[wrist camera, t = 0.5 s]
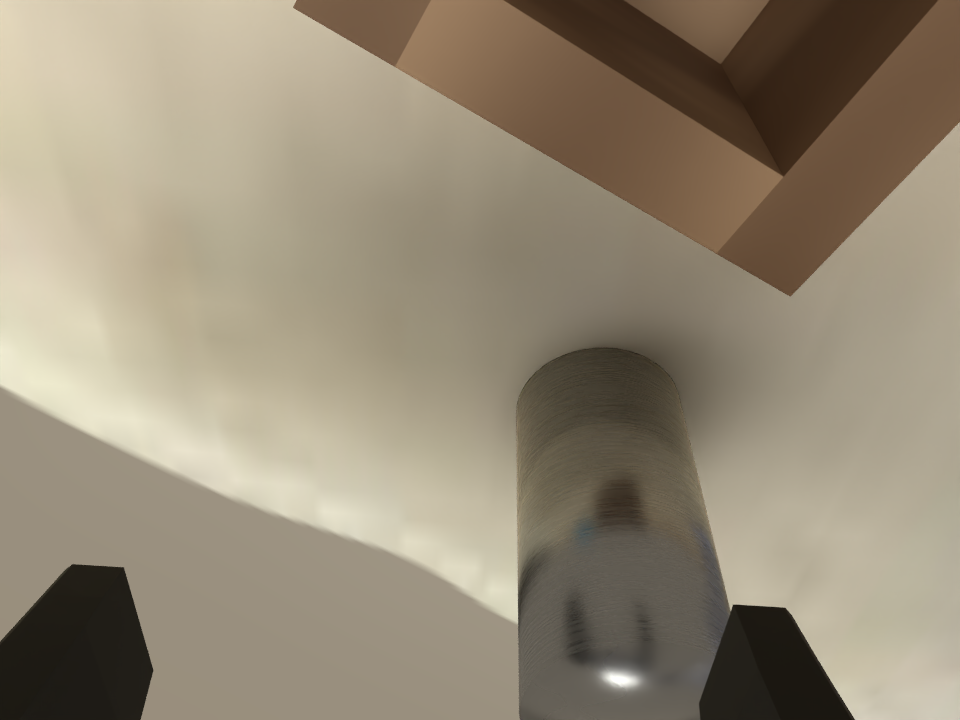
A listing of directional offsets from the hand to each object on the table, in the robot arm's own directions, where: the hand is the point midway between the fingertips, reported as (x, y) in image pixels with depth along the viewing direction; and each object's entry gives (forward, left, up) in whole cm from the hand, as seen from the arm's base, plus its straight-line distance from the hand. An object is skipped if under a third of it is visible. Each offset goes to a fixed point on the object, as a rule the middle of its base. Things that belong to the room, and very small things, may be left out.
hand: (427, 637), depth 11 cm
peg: (-5, +3, -10) cm, 12 cm away
